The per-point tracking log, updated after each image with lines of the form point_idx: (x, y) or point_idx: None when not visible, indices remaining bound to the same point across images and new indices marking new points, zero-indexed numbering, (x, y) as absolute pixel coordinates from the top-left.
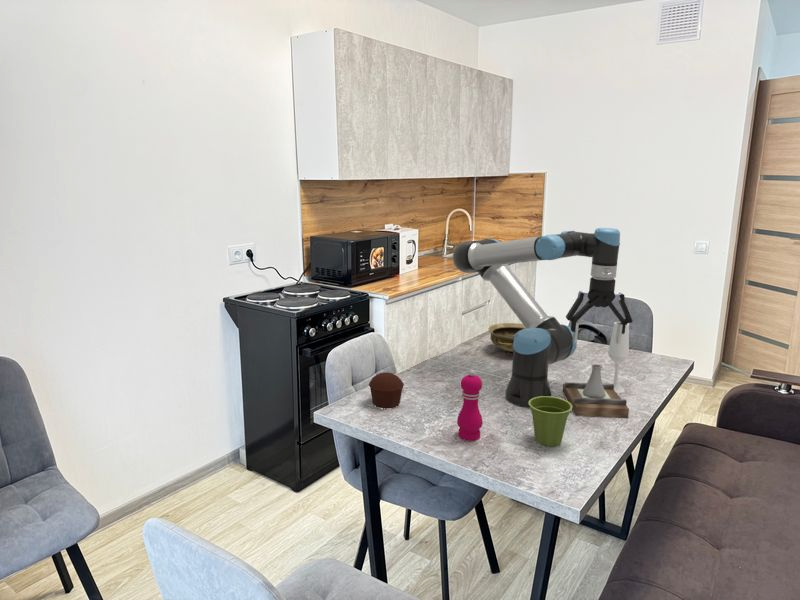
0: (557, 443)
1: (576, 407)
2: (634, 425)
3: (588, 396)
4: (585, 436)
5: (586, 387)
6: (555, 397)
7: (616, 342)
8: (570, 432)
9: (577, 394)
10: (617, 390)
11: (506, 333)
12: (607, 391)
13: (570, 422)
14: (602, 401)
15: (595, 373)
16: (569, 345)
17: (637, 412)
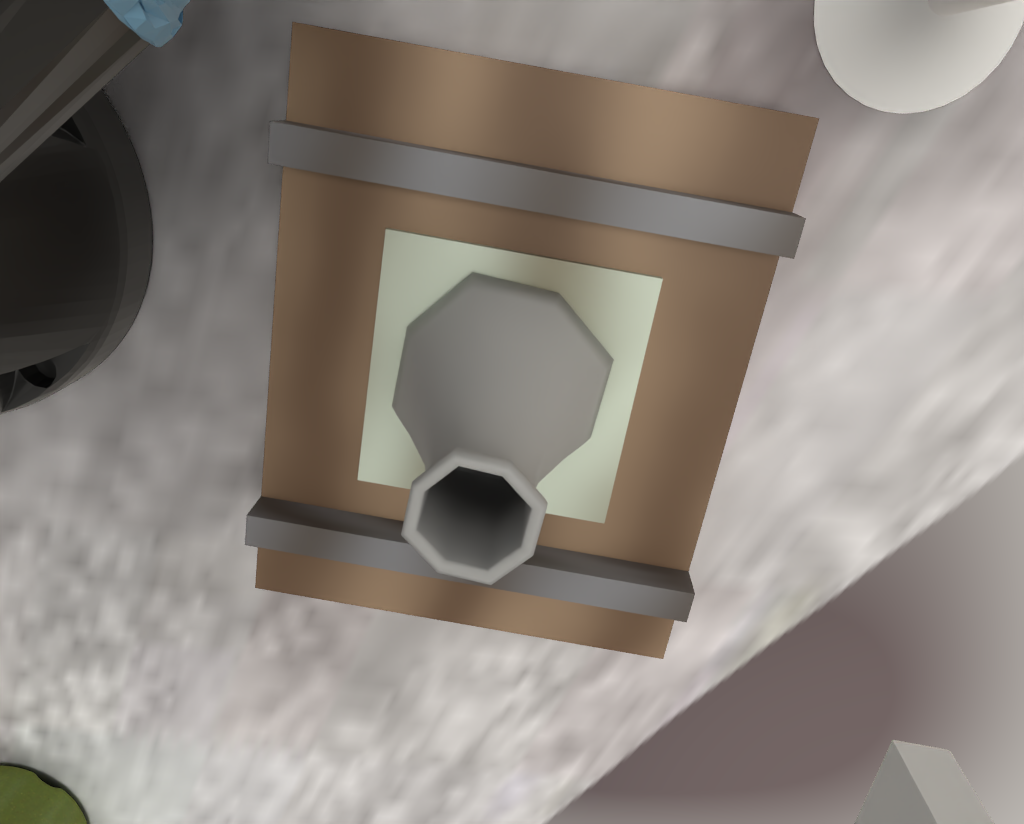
0: None
1: (257, 584)
2: (632, 710)
3: None
4: (251, 795)
5: (407, 400)
6: None
7: (871, 802)
8: (175, 747)
9: (349, 345)
10: (905, 84)
11: None
12: (684, 297)
13: (212, 632)
14: None
15: (452, 517)
16: (11, 98)
17: (787, 535)
